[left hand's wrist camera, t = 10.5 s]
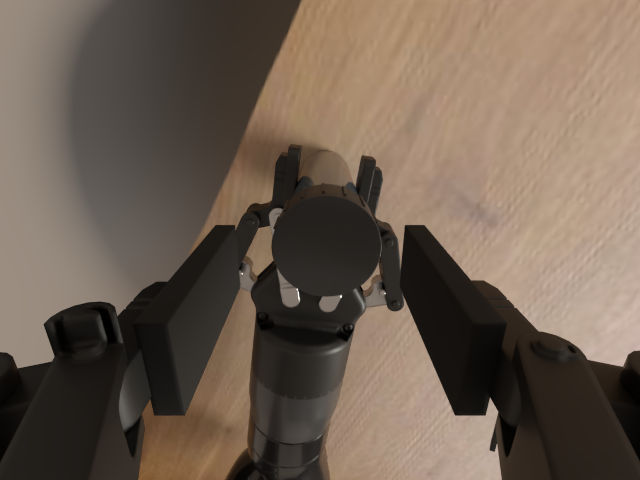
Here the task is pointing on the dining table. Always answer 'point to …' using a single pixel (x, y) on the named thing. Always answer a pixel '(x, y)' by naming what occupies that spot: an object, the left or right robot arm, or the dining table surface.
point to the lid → (326, 241)
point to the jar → (325, 171)
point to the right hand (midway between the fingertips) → (331, 153)
